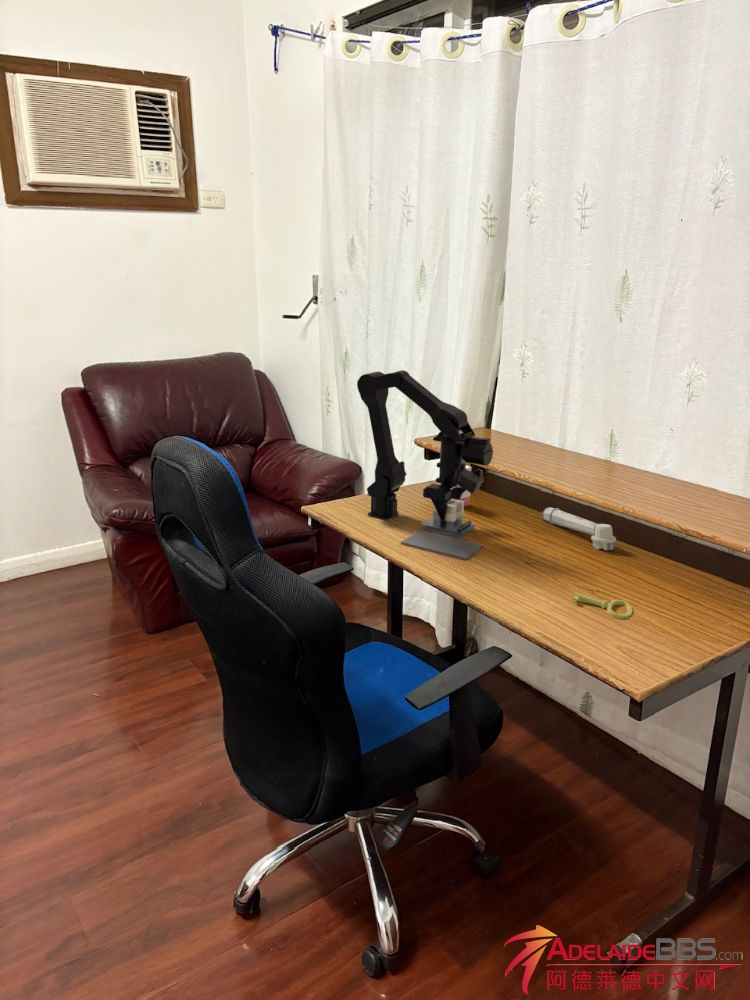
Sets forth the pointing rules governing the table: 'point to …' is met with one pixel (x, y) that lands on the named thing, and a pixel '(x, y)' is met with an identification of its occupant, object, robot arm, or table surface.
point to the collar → (452, 510)
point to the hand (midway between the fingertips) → (448, 516)
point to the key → (606, 605)
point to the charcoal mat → (442, 544)
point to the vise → (448, 526)
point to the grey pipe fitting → (582, 527)
